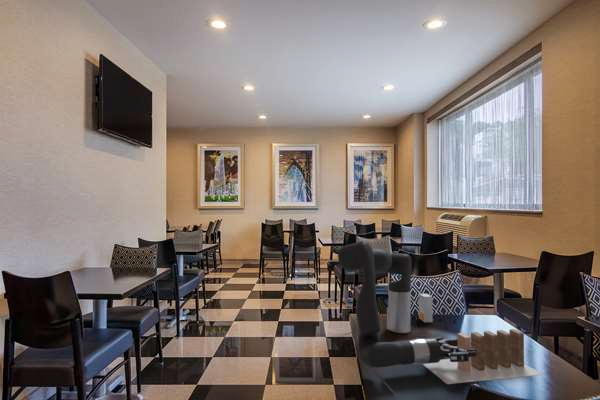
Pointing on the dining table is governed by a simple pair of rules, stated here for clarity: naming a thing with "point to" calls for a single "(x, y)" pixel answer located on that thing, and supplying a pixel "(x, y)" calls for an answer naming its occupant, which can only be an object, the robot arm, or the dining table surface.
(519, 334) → the domino
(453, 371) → the mat
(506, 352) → the domino
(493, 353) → the domino
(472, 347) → the domino
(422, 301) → the skincare box
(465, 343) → the loose domino
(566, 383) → the dining table surface
